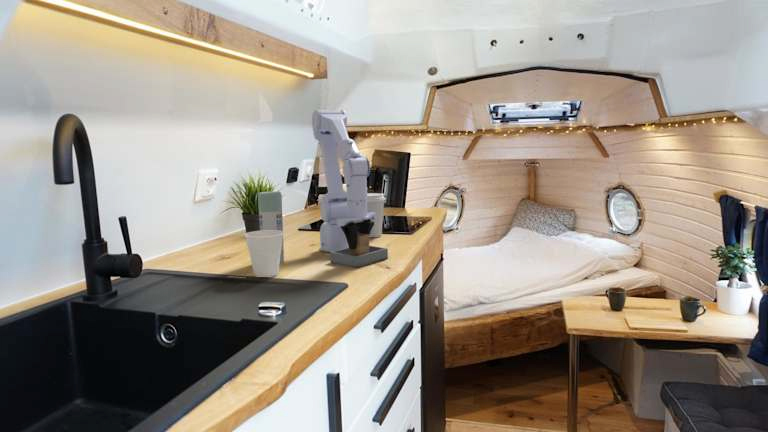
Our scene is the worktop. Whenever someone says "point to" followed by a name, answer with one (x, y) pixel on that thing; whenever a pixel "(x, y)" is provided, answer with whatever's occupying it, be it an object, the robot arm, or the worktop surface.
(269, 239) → the cup
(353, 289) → the worktop surface
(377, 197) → the coffee cup
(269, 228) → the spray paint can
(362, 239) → the walnut block
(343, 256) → the bin
